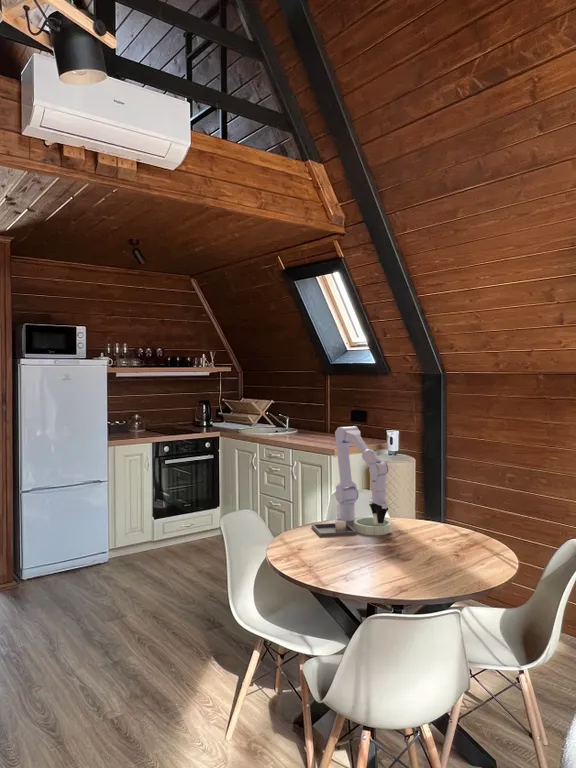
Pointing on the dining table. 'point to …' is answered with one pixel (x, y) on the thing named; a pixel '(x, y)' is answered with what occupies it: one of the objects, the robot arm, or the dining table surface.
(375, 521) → the pebble
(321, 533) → the tray
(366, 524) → the bowl
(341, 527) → the pebble
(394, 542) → the dining table surface
